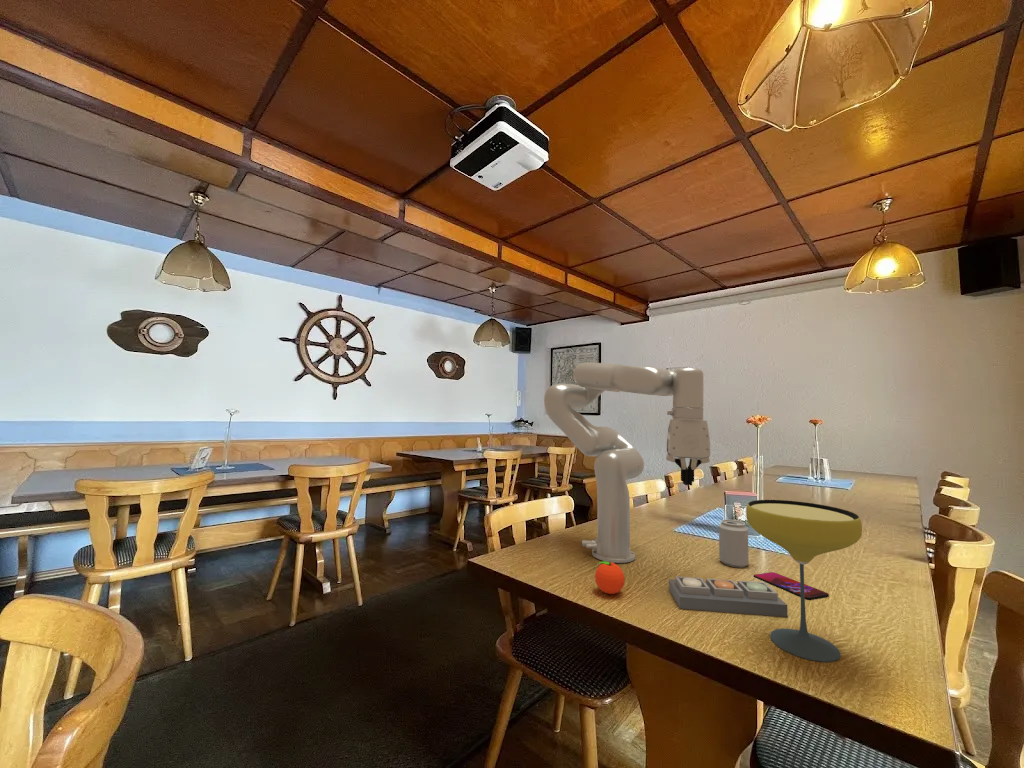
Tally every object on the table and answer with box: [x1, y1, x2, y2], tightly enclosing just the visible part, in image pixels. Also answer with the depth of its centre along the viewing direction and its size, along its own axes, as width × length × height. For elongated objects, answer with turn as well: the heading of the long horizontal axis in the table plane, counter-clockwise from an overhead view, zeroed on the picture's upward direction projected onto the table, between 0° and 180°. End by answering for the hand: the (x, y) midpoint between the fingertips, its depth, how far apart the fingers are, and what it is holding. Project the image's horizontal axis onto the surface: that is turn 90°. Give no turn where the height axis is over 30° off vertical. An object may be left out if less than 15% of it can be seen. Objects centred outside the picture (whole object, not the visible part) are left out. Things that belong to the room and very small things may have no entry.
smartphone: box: [753, 571, 830, 601], centre depth 105 cm, size 8×1×15 cm
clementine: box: [593, 561, 625, 595], centre depth 100 cm, size 8×7×7 cm
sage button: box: [747, 581, 767, 592], centre depth 95 cm, size 4×4×2 cm
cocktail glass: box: [745, 499, 863, 663], centre depth 79 cm, size 18×18×25 cm
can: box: [718, 519, 750, 568], centre depth 121 cm, size 8×8×12 cm
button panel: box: [668, 575, 789, 618], centre depth 95 cm, size 22×10×4 cm, turn 82°
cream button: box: [683, 577, 702, 587], centre depth 97 cm, size 4×4×2 cm
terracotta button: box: [714, 579, 734, 589], centre depth 96 cm, size 4×4×2 cm
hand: (687, 484), depth 110 cm, fingers closed
